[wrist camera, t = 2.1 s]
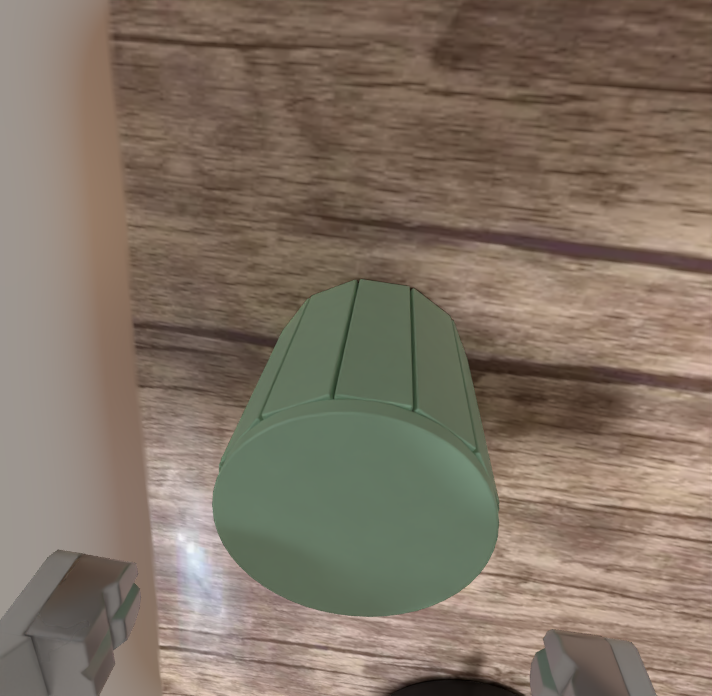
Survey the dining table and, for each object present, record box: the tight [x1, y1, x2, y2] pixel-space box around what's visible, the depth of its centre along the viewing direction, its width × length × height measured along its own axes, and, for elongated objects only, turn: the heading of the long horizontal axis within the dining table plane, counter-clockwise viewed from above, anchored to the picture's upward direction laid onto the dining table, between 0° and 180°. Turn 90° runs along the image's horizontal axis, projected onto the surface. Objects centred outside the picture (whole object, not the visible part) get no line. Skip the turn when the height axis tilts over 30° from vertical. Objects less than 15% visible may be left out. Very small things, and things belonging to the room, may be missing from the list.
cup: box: [212, 279, 499, 617], centre depth 14 cm, size 6×6×7 cm
